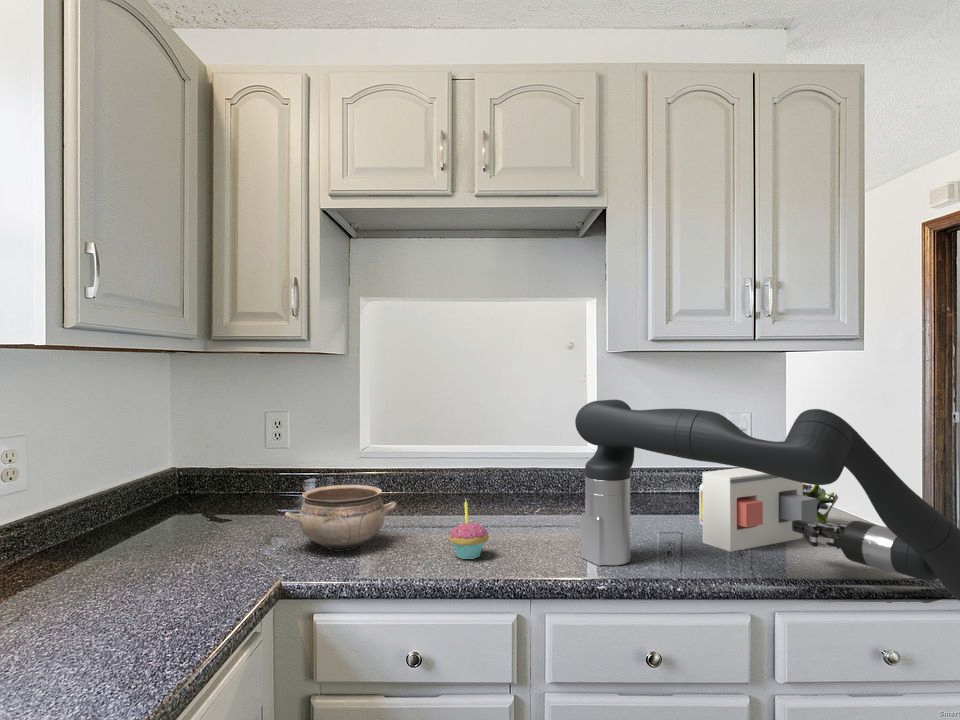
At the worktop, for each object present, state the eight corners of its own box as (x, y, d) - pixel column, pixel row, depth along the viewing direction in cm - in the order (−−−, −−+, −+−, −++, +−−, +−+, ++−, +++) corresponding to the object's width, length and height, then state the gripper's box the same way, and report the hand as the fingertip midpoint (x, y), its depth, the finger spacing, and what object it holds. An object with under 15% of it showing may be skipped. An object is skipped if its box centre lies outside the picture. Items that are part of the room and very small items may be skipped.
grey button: (801, 523, 145) (801, 500, 145) (778, 517, 150) (778, 495, 150) (816, 521, 147) (816, 498, 147) (793, 515, 152) (793, 493, 152)
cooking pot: (385, 530, 162) (385, 480, 162) (408, 550, 145) (408, 495, 145) (280, 542, 153) (279, 489, 152) (291, 566, 135) (290, 506, 135)
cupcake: (443, 553, 143) (443, 498, 143) (480, 549, 146) (480, 494, 146) (456, 565, 135) (456, 506, 135) (495, 560, 138) (494, 502, 138)
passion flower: (802, 546, 167) (821, 500, 171) (839, 551, 156) (858, 501, 160) (763, 520, 166) (783, 473, 170) (797, 522, 154) (818, 473, 158)
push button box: (731, 552, 142) (731, 478, 142) (702, 542, 150) (702, 472, 150) (804, 538, 153) (803, 469, 153) (773, 530, 160) (773, 464, 160)
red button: (746, 527, 142) (746, 504, 142) (724, 521, 147) (724, 498, 147) (762, 524, 144) (762, 501, 144) (740, 518, 150) (740, 496, 149)
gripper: (853, 572, 116) (771, 547, 132) (900, 562, 122) (816, 539, 137) (853, 530, 116) (771, 510, 132) (900, 521, 122) (816, 503, 137)
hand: (794, 525), depth 135 cm, fingers closed
